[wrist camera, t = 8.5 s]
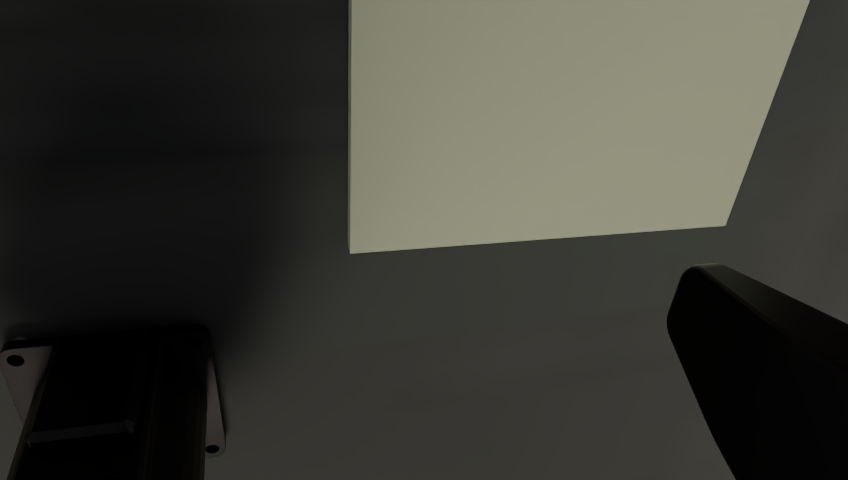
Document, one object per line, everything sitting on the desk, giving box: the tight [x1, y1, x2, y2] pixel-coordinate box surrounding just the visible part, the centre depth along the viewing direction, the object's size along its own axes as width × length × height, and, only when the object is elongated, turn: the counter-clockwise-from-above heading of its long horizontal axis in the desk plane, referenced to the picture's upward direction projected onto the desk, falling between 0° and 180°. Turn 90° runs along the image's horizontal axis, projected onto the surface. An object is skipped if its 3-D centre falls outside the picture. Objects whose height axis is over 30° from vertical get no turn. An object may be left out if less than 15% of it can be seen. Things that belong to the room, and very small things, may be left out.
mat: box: [348, 0, 810, 254], centre depth 20 cm, size 14×14×1 cm
